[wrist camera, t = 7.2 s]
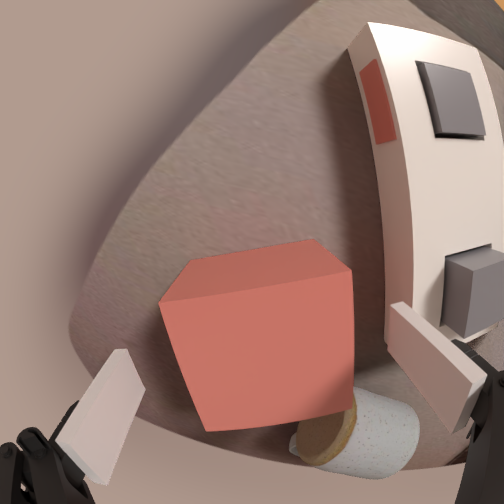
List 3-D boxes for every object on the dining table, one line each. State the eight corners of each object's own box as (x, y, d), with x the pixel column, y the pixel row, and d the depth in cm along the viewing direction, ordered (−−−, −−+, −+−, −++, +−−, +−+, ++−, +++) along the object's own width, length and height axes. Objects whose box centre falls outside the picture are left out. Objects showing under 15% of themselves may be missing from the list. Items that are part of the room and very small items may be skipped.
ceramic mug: (335, 361, 20) (366, 433, 12) (400, 386, 21) (435, 442, 13) (266, 437, 22) (269, 503, 15) (331, 452, 23) (346, 508, 16)
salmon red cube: (323, 345, 19) (352, 408, 13) (216, 362, 20) (206, 431, 13) (313, 239, 18) (351, 270, 11) (190, 260, 18) (158, 302, 11)
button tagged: (451, 140, 16) (486, 135, 12) (408, 139, 16) (442, 131, 12) (438, 86, 15) (470, 73, 11) (394, 81, 15) (423, 62, 11)
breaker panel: (471, 308, 19) (497, 326, 15) (381, 341, 20) (403, 368, 16) (448, 62, 14) (476, 48, 11) (344, 48, 15) (364, 21, 11)
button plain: (472, 298, 16) (504, 318, 12) (431, 313, 16) (463, 339, 13) (476, 243, 15) (513, 256, 11) (434, 253, 15) (473, 270, 12)
